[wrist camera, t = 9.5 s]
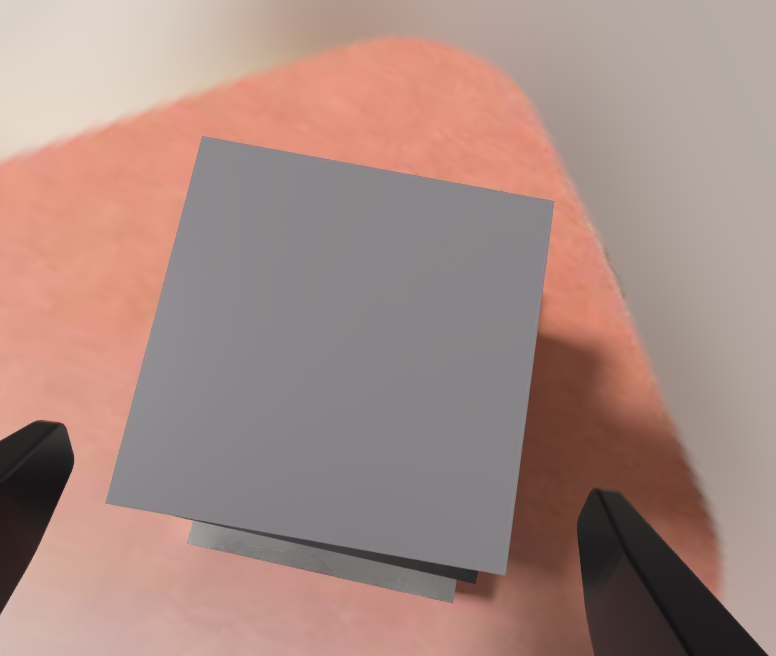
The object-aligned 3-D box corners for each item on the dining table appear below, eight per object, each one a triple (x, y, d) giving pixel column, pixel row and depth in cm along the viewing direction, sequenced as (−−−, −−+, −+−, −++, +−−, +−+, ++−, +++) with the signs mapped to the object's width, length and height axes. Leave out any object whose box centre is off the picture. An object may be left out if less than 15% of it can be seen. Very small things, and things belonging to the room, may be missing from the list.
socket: (446, 590, 19) (470, 635, 15) (200, 535, 19) (152, 564, 15) (503, 286, 22) (538, 247, 17) (280, 236, 22) (259, 185, 17)
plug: (412, 483, 19) (505, 575, 6) (276, 458, 19) (105, 503, 6) (434, 349, 19) (554, 200, 7) (305, 325, 19) (202, 135, 7)
